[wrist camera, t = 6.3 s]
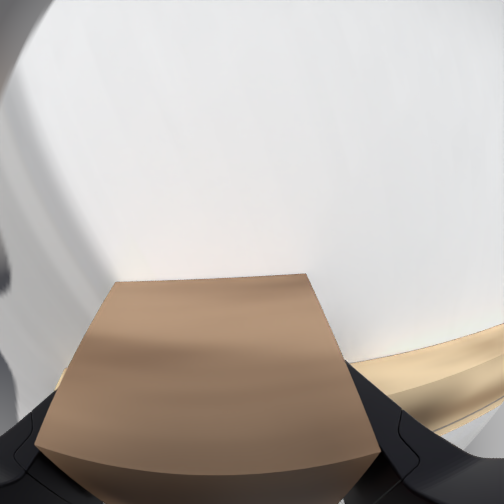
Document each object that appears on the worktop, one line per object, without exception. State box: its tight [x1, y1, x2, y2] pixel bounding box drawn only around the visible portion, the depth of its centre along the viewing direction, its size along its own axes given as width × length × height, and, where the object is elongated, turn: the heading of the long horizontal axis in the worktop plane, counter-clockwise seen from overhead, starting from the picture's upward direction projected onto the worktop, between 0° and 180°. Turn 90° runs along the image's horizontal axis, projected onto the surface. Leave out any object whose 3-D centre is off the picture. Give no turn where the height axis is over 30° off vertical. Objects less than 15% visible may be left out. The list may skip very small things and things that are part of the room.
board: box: [54, 323, 504, 436], centre depth 12 cm, size 7×26×2 cm, turn 91°
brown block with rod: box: [34, 274, 381, 504], centre depth 8 cm, size 11×6×6 cm, turn 1°
